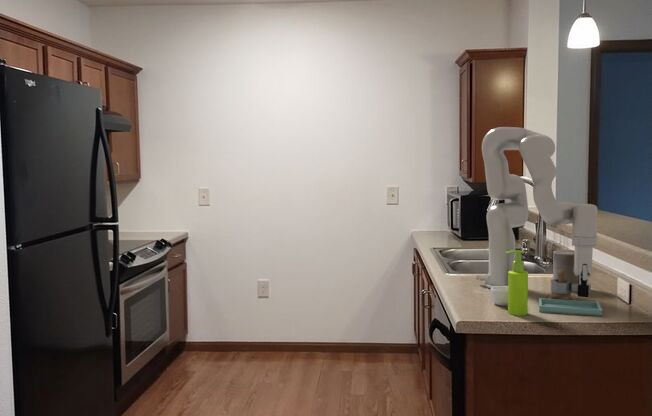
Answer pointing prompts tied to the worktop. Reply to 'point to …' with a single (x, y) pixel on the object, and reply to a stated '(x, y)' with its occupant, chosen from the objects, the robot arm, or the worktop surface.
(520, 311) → the soap dispenser
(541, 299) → the tray
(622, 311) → the worktop surface
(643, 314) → the worktop surface
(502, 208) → the robot arm
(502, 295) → the teacup
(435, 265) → the worktop surface
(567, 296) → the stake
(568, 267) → the pillar candle
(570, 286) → the wrench
